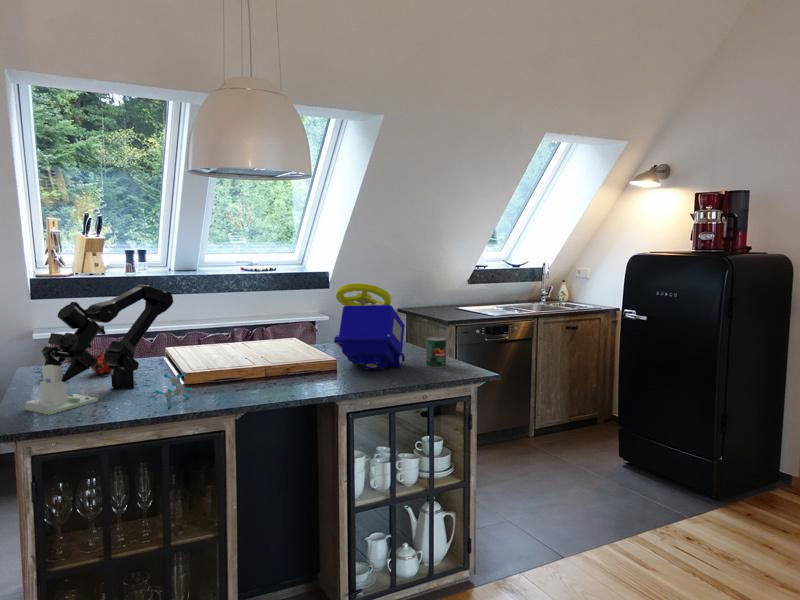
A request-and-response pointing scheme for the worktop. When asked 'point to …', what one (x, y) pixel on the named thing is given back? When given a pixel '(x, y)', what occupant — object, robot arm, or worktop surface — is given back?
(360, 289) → the control box
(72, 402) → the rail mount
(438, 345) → the canned tomato
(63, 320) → the robot arm
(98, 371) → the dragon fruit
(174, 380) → the molecular model
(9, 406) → the worktop surface
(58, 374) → the block
